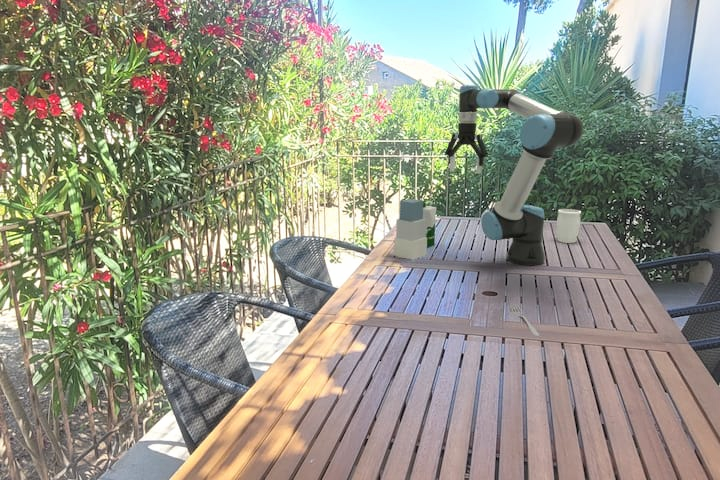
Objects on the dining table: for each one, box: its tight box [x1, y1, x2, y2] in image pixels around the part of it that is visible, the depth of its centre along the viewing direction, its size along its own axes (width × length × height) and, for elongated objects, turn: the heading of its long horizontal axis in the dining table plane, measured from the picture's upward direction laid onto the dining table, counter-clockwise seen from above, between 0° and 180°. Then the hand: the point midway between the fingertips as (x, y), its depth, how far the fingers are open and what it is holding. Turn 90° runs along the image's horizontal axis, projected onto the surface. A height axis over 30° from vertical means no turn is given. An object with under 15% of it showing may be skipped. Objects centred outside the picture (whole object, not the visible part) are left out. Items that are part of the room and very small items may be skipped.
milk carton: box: [423, 201, 437, 249], centre depth 236 cm, size 9×9×20 cm
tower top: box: [395, 218, 426, 241], centre depth 219 cm, size 9×9×8 cm
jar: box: [556, 208, 582, 244], centre depth 244 cm, size 11×10×15 cm
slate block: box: [399, 198, 424, 222], centre depth 217 cm, size 7×7×8 cm
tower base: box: [393, 236, 428, 260], centre depth 221 cm, size 10×10×8 cm
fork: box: [509, 303, 540, 337], centre depth 151 cm, size 3×24×2 cm, turn 2°
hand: (465, 172), depth 224 cm, fingers open, 13 cm apart
